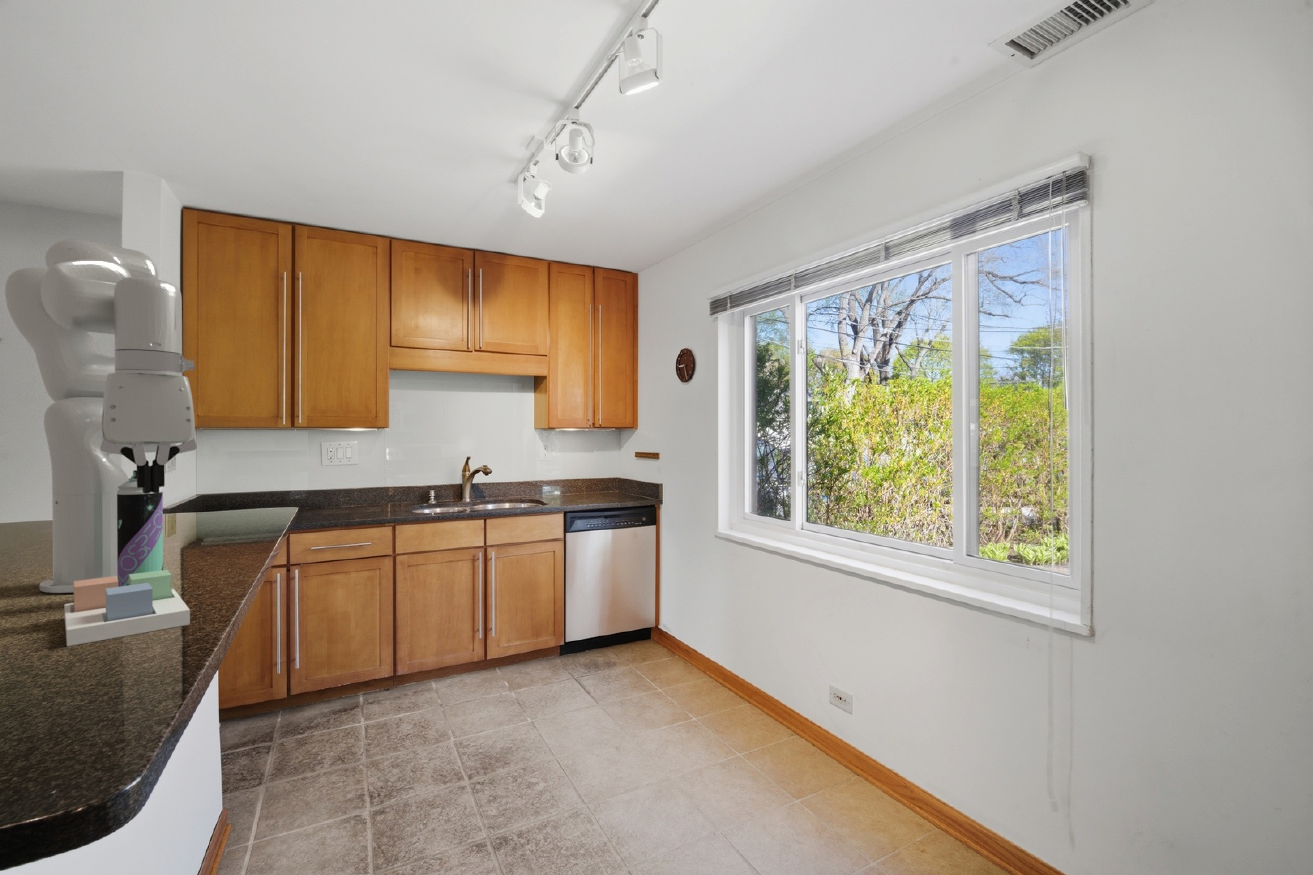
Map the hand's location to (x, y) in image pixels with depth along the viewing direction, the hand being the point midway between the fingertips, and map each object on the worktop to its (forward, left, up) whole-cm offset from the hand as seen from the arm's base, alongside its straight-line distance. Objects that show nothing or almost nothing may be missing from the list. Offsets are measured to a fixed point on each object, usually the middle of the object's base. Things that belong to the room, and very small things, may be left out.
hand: (150, 492), depth 88 cm
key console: (+4, -3, -17) cm, 18 cm away
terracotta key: (0, -6, -15) cm, 17 cm away
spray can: (-11, 0, -18) cm, 21 cm away
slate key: (+8, -3, -16) cm, 18 cm away
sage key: (0, 0, -15) cm, 16 cm away
